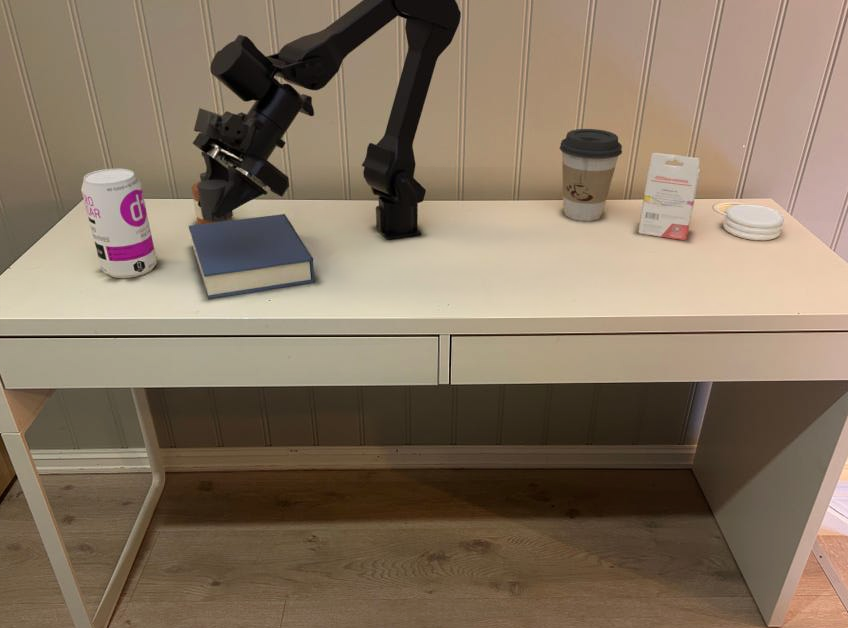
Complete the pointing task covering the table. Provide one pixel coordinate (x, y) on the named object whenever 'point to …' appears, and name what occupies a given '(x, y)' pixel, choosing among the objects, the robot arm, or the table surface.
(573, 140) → the coffee cup
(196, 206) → the brown striped cylinder
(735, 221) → the white layered disc
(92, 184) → the supplement can
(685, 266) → the table surface
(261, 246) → the book
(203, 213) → the cap
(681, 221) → the ink cartridge box
